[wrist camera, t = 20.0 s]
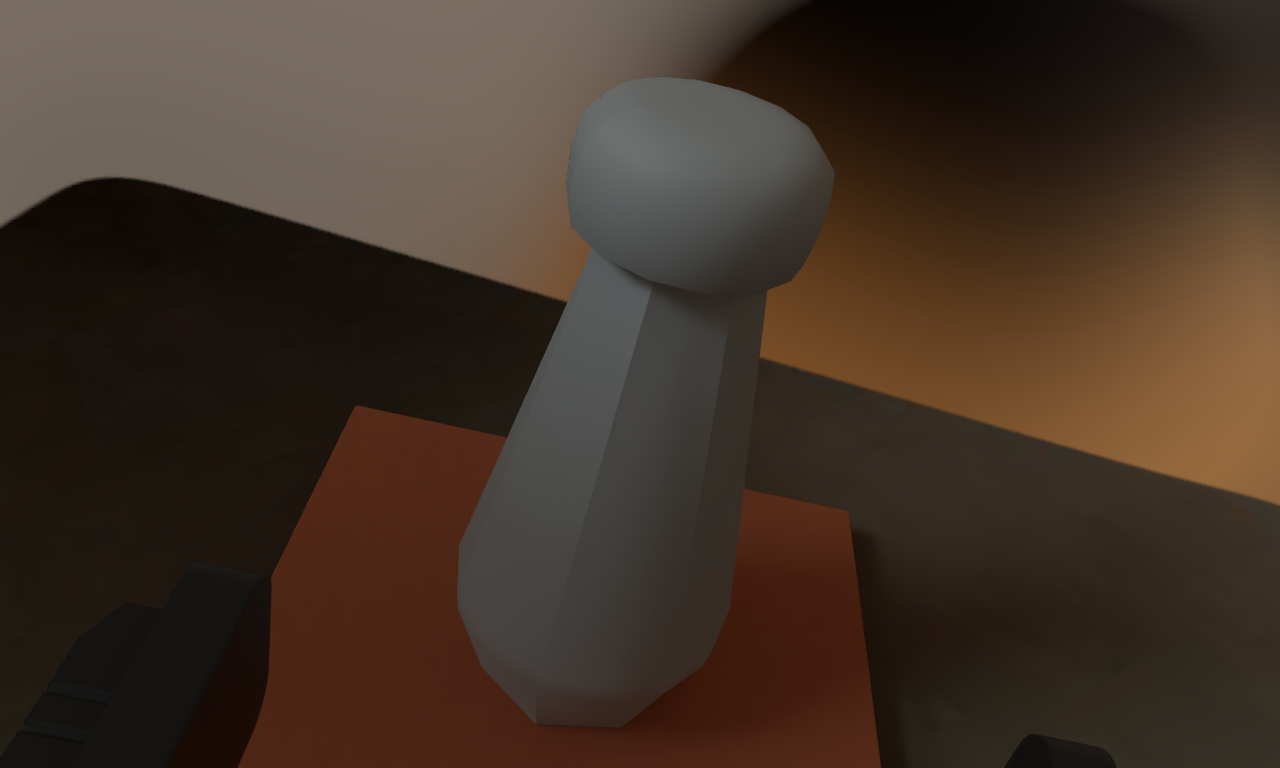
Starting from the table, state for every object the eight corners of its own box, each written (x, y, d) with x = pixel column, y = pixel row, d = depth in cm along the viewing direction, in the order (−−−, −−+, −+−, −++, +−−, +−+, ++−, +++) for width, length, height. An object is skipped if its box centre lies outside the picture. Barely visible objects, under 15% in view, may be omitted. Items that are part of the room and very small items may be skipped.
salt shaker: (512, 529, 28) (615, 13, 20) (727, 617, 27) (916, 111, 19) (394, 697, 23) (473, 102, 16) (651, 812, 22) (863, 237, 15)
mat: (123, 912, 19) (120, 880, 19) (353, 432, 31) (355, 404, 30) (897, 1055, 20) (916, 1029, 20) (838, 535, 32) (849, 510, 31)
